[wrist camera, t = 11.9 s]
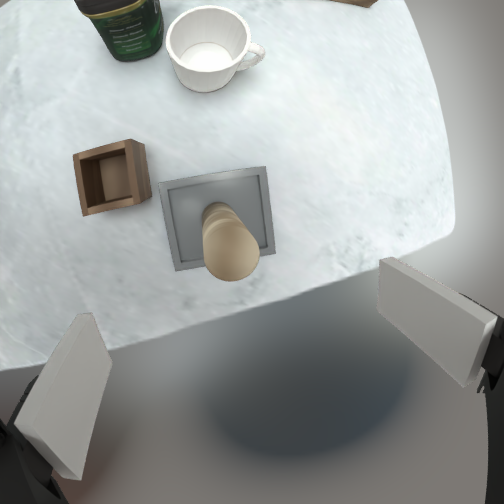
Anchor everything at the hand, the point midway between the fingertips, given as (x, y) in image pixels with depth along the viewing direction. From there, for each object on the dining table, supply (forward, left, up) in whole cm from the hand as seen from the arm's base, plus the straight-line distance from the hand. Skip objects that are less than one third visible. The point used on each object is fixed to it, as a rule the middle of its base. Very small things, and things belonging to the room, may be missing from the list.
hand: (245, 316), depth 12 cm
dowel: (+1, -1, -28) cm, 28 cm away
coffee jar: (-7, +28, -29) cm, 41 cm away
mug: (+3, +20, -29) cm, 35 cm away
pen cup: (-11, +7, -29) cm, 32 cm away
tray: (+1, -1, -29) cm, 29 cm away
